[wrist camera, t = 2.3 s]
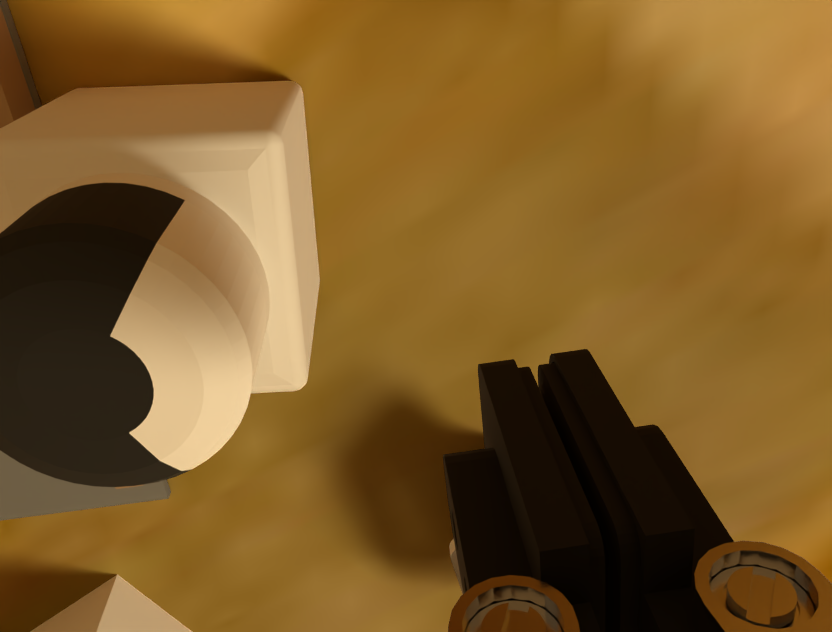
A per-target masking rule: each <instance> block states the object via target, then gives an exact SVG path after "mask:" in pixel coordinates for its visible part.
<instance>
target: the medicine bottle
mask: <svg viewBox="0 0 832 632" xmlns="http://www.w3.org/2000/svg"><path fill="white" fill-rule="evenodd" d="M319 283H320V278H319V267H318V255H317V244H316V233H315V222H314V211H313V200H312V189H311V177H310V166H309V155H308V144H307V133H306V122H305V111H304V99H303V92H302V89H301V86H300V85H299V84H297V83H296V82H293V81H265V82H237V83H208V84H180V85H152V86H124V87H96V88H77V89H74V90H71V91H69V92H68V93H66V94H64V95H62V96H60V97H58V98H56V99H55V100H53V101H51V102H49V103H47V104H45V105H43V106H41V107H40V108H38V109H36V110H34V111H32V112H30V113H28V114H27V115H25V116H23V117H21V118H19V119H17V120H15V121H13V122H12V123H10V124H8V125H6V126H4V127H2V128H0V450H1V451H2V452H3V453H5V454H6V455H8V456H10V457H11V458H13V459H14V460H16V461H17V462H19V463H21V464H23V465H25V466H27V467H29V468H31V469H33V470H35V471H37V472H40V473H42V474H45V475H48V476H50V477H53V478H56V479H60V480H64V481H67V482H71V483H75V484H82V485H88V486H97V487H125V486H137V485H143V484H149V483H155V482H159V481H163V480H166V479H169V478H173V477H176V476H178V475H180V474H183V473H185V472H187V471H189V470H192V469H193V468H195V467H197V466H198V465H200V464H201V463H203V462H205V461H206V460H208V459H209V458H210V457H211V456H213V455H214V454H215V453H216V452H217V451H219V450H220V449H221V448H222V447H223V446H224V444H225V443H226V442H227V441H228V440H229V439H230V438H231V437H232V435H233V433H234V432H235V430H236V429H237V427H238V426H239V424H240V422H241V420H242V418H243V416H244V413H245V411H246V409H247V406H248V402H249V398H250V394H251V393H265V392H284V391H296V390H300V389H301V388H302V387H303V386H304V385H305V384H306V383H307V378H308V371H309V363H310V355H311V347H312V339H313V331H314V323H315V315H316V307H317V299H318V291H319Z"/></svg>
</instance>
